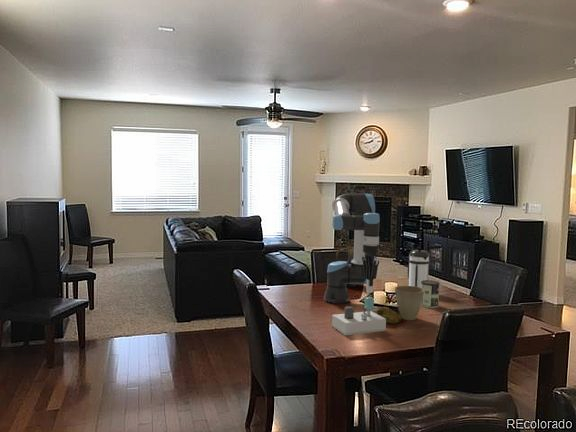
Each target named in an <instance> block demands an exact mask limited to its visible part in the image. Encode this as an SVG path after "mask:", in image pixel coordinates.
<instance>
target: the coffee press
mask: <svg viewBox="0 0 576 432" xmlns="http://www.w3.org/2000/svg"><path fill="white" fill-rule="evenodd" d="M408 256H409V258H408V261H407V262H408V263H407V278H408V282H407V283H408V284H407V286H415V287H420V288H421V281H424V280H429V270H430V256H431V255H430V254H429V251H426V250H422V247H421V246H417V249H413V250H411V251H410V252H409V253H408Z"/></svg>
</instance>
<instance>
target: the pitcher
mask: <svg viewBox="0 0 576 432" xmlns="http://www.w3.org/2000/svg"><path fill="white" fill-rule="evenodd" d="M348 244H349V245H348ZM348 244H345V247H346V248H347V249H344V248H339V249H338V250H337V251H336V253H335V254H336V256H335V258H336V260H337V262H338V261H340V260H339V253H340V252H343V253H347V257H348V258H347V261H345V262H347V264H351V261H352V260H353V258H354V242H351V241H348ZM347 285H348V287H356V285H358V284H347Z"/></svg>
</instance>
